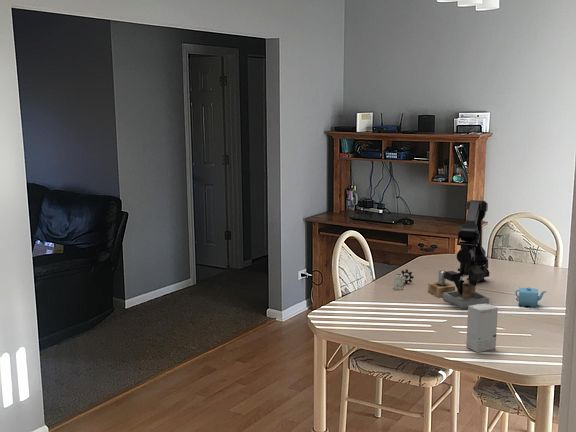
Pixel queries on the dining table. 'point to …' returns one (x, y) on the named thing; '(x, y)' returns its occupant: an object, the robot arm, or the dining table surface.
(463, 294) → the walnut block
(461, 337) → the dining table surface
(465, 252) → the robot arm
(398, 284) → the valve
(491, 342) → the skincare box
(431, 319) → the dining table surface
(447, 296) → the tray
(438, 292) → the oak block
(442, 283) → the gauge pin
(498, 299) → the dining table surface
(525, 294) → the teapot
